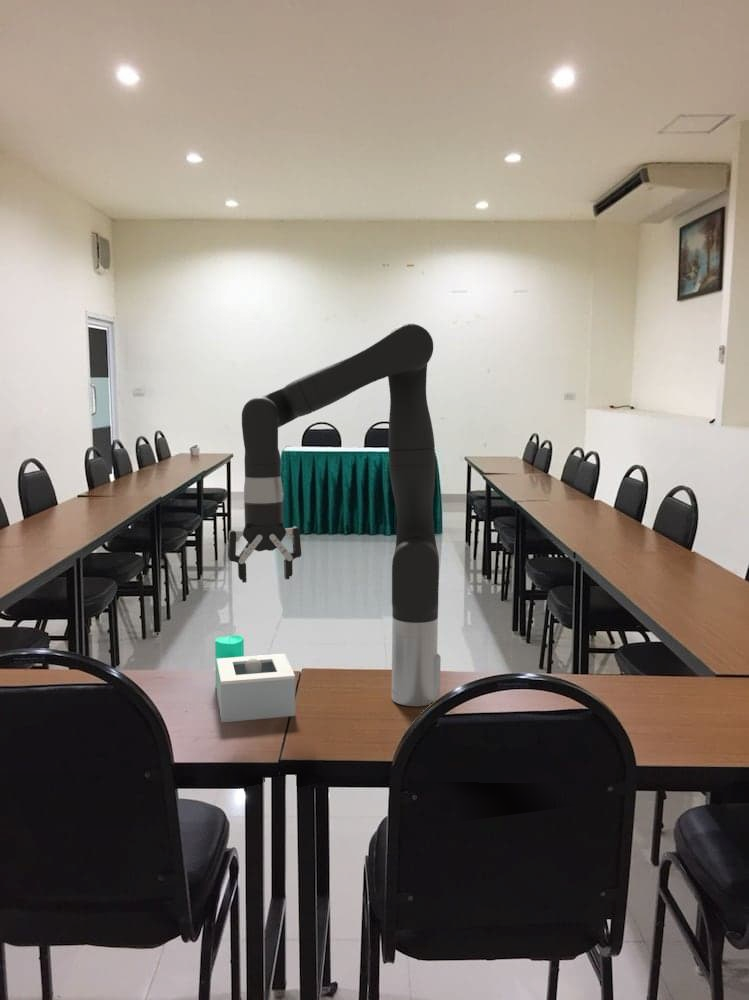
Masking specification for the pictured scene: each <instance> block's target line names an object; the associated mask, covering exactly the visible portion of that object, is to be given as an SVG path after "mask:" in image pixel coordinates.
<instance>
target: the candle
mask: <svg viewBox="0 0 749 1000" xmlns="http://www.w3.org/2000/svg"><path fill="white" fill-rule="evenodd" d="M230 634H231V632H230V631H228V635H227V636H218V637H217V638H216V639H214V651H215V653H214V656H215V659H214V660H215V668H214V669H215V689H216V688H217V662H216V658H230V657H244V656H245V655H244V653H245V652H244V650H245V647H244V645H245V643H244V641H245V639H244V637H243V636H242V635H239V634H231V635H230Z"/></svg>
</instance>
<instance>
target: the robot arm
mask: <svg viewBox="0 0 749 1000" xmlns="http://www.w3.org/2000/svg"><path fill="white" fill-rule="evenodd" d="M433 340H434V339H433V338H432V336H431V334H430V332H429V331H428V330H427V329H426V328H424V327H423V326H422V325H420V324H417V323H416V324H415V323H404V324H401V325H398V326H397V327H394V329H393V330H391V332H390V333H388V334H387V335H385V336H384V337H382V338H381V339H380V340H378V341H376V342H375V343H373V344H372V345H370V346H369V347H367V348H365V349H363V350H361V351H359V352H357V353H355V354H353V355H351V356H349V357H346V358H344V359H341V360H340V361H337V362H333V363H332V364H330V365H327V366H325V367H322V368H319V369H318V370H315V371H313V372H310V373H308V374H306V375H303V376H301V377H299V378H297V379H295V380H293V381H291V382H290V383H288V384H286V385H285V386H284V387H282V388H280V389H277V390H275V391H272V392H270V393H268V394H265V395H263V396H260V397H258V396H257V397H253V398H251V399H250V400H248V401H247V402H246V403H245V404H244V405H243V407H242V410H241V428H242V438H243V439H242V440H243V446H244V485H243V499H244V500H243V501H244V502H243V505H244V506H243V507H244V528H243V530H235V529H230V530H229V531H228V544H227V545H228V548H227V549H228V551H227V558H228V559H229V561H230V562H233V563H237V571H238V573H237V576H238V578H239V580H240V581H241V582H242V583H247V563H246V561H247V559H248V558H249V557H250V556H251V555H252V553H253V552H254V551H257V552H263V551H270V552H271V551H273V552H274V550H276V549H277V550H278V551H279V552H280V553H281V555H283V557H284V559H283V574H284V576H283V577H284V579H285V580H290V577H292V576H293V560H295V559H297V558H300V557H302V545H301V544H302V543H301V533H300V532H301V531H300V528H298V526H296V525H294V526H292V527H287V528H285V526H284V504H283V503H284V493H283V483H282V468H281V462H282V461H281V453H280V450H279V428H281V427H282V426H284V425H287V424H289V423H291V422H292V421H294V420H296V419H298V418H300V417H303V416H306V415H307V416H308V415H310V414H312V413H314V412H316V411H319V410H320V409H323V408H325V407H327V406H330V405H331V404H333V403H336V402H337V401H339V400H341V399H343V398H345V397H347V396H348V395H350V394H352V393H354V392H356V391H357V390H359V389H361V388H363V387H365V386H367V385H370V384H371V383H374V382H377V381H380V380H383V379H385V378H388V387H389V397H390V400H389V401H390V402H389V420H388V463H389V464H388V466H389V467H388V468H389V475H390V476H389V478H390V482H391V488H392V489H391V490H392V494H393V499H394V503H395V504H394V505H395V508H396V537H395V538H396V539H395V549H394V554H393V557H392V564H391V606H392V607H391V608H392V611H391V612H392V616H391V617H392V618H391V619H392V622H391V625H392V626H391V628H392V629H391V630H392V631H391V634H392V635H391V645H392V646H391V690H390V691H391V700H392V701H393V702H394V703H396V704H399V705H402V706H407V707H425V706H429V705H432V704H433V703H432V702H434V701H435V700H436V699H437V698H439V697H440V698H441V655H439V653H438V637H439V635H438V631H439V630H438V628H439V627H438V626H439V625H438V624H439V621H438V620H439V587H440V586H439V584H440V583H439V581H440V557H439V556H440V555H439V550H438V546H437V542H436V535H435V527H434V526H435V525H434V518H433V517H434V516H433V514H434V513H433V512H434V511H433V507H434V506H433V504H434V497H435V495H434V494H435V486H436V450H435V449H436V448H435V446H436V445H435V435H434V429H433V425H432V419H431V416H430V415H431V414H430V410H429V405H428V400H427V376H428V375H427V374H428V373H427V372H428V364H429V362H430V360H431V358H432V356H433V354H434V341H433ZM287 535H288V537H289V539H291V540H292V551H290V552H289V551H288V550H287V548H286V547H285V545H284V544H282V541H283V539H284V538H285V536H287ZM241 537H243V538H244V539H245V541H246V542H247V543H246V545H245V546H244V547H243V549H242V550H241V552H240V553H239V555H238V554H237V553H236V551H237V543H238V542H239V541H240V539H241ZM431 703H432V704H431ZM434 703H435V702H434Z"/></svg>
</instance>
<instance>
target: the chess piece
mask: <svg viewBox="0 0 749 1000" xmlns="http://www.w3.org/2000/svg"><path fill="white" fill-rule="evenodd" d="M245 670H246V672H247V674H255V673H260V672H261V670H262V664H261V662H260V661H259V660H257V659H250V660H248V661H247V662H246V664H245Z"/></svg>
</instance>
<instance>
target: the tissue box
mask: <svg viewBox="0 0 749 1000" xmlns="http://www.w3.org/2000/svg"><path fill="white" fill-rule="evenodd" d="M250 659H257V660H259V661H260V662H261V664H262V670H261V672H260V673H255V674H247V672H246V670H245V664H246V662H247V661H248V660H250ZM216 662H217V689H216V697H217V704H218V708H219V709H218V710H220V711H219V716H220V720H221V723H231V722H232V723H233V722H240V721H254V720H261V719H262V720H264V719H265V720H266V719H274V718H276V719H277V718H285V717H286V718H287V717H296V674H295V672H294V671H293V668H292V666H291V664H290V662H289V660H288V658H287V656H286V654H285V653H275V654H274V653H273V654H272V653H271V654H261V655H247V656H245V655H244V657H230V658H216Z"/></svg>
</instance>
